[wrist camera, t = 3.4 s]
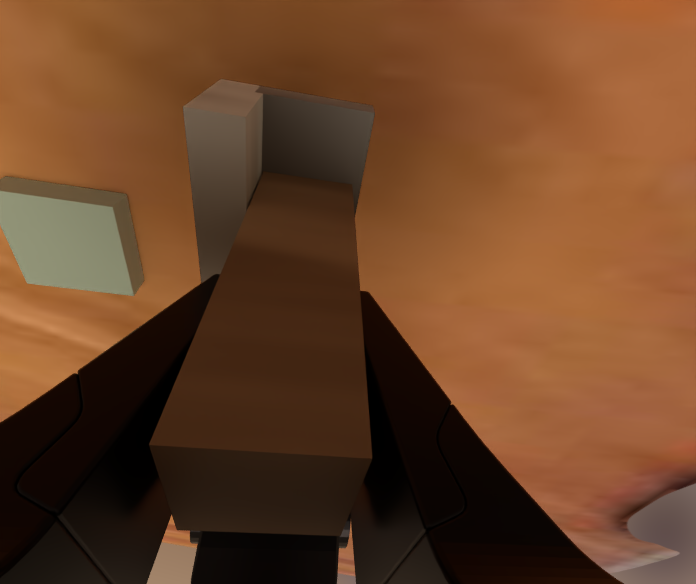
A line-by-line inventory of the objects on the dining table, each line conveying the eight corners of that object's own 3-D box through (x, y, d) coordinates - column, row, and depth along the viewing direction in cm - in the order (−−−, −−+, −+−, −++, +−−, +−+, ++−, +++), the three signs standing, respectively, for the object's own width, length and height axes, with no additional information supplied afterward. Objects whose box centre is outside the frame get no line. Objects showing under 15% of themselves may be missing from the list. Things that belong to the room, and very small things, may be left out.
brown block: (338, 289, 14) (338, 573, 7) (229, 276, 14) (117, 568, 7) (372, 105, 10) (447, 349, 3) (220, 79, 10) (-77, 296, 3)
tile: (147, 276, 24) (133, 296, 23) (47, 264, 24) (27, 283, 22) (129, 190, 21) (112, 207, 19) (11, 173, 20) (-17, 188, 18)
